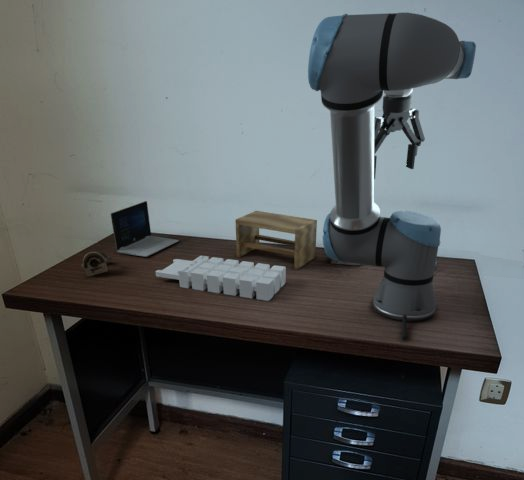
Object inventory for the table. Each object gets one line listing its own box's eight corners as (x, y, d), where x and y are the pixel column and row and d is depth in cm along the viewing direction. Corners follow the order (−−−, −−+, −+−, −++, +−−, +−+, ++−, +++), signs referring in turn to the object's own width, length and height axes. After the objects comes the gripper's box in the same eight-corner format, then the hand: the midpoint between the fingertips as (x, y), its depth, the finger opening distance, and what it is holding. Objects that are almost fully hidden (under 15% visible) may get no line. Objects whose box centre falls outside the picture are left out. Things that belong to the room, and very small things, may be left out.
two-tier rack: (297, 269, 150) (298, 230, 144) (236, 256, 160) (235, 219, 154) (315, 257, 158) (317, 220, 152) (256, 246, 169) (255, 210, 163)
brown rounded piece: (67, 259, 143) (96, 254, 140) (89, 241, 153) (117, 236, 150) (78, 281, 147) (106, 277, 144) (99, 262, 157) (126, 258, 154)
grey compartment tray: (268, 284, 128) (152, 267, 139) (268, 301, 130) (154, 283, 142) (285, 266, 138) (176, 252, 150) (285, 282, 141) (177, 267, 152)
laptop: (146, 258, 159) (141, 217, 152) (116, 252, 164) (109, 213, 157) (179, 242, 173) (175, 204, 166) (150, 237, 178) (146, 200, 171)
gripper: (426, 83, 140) (417, 160, 153) (350, 99, 133) (347, 178, 146) (444, 88, 134) (433, 167, 148) (366, 105, 127) (362, 186, 141)
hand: (390, 172), depth 147 cm, fingers open, 13 cm apart
